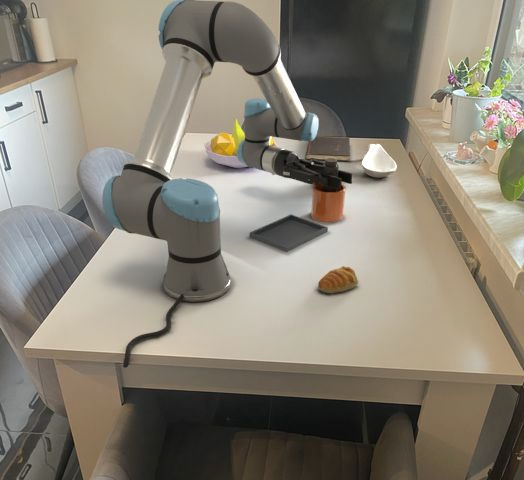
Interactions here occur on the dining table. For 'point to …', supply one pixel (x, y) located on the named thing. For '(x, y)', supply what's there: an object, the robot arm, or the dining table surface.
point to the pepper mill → (330, 173)
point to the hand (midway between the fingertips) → (345, 181)
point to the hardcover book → (329, 148)
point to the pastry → (338, 280)
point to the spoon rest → (378, 162)
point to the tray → (288, 232)
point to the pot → (327, 204)
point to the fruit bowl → (228, 147)
